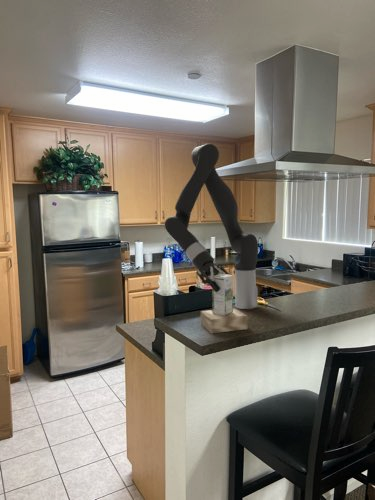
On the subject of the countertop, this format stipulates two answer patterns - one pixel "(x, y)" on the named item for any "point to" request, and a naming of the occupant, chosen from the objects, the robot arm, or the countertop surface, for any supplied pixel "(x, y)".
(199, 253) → the robot arm
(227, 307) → the syrup box
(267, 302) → the countertop surface
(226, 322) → the riser block
